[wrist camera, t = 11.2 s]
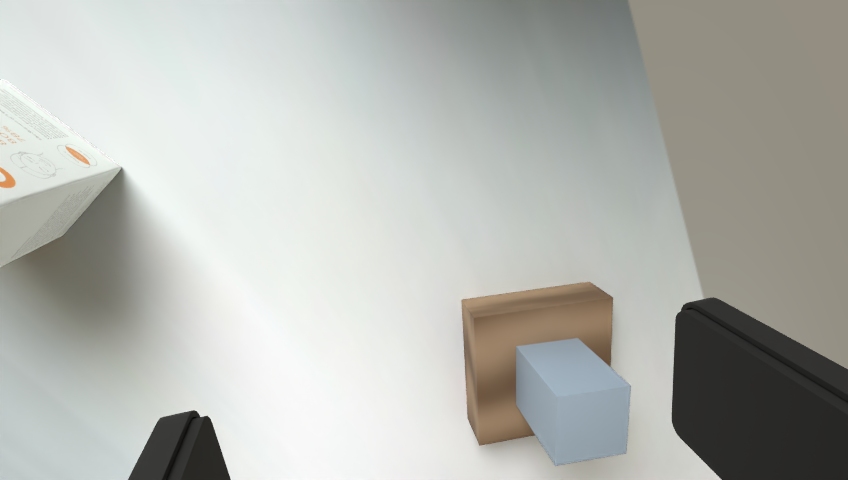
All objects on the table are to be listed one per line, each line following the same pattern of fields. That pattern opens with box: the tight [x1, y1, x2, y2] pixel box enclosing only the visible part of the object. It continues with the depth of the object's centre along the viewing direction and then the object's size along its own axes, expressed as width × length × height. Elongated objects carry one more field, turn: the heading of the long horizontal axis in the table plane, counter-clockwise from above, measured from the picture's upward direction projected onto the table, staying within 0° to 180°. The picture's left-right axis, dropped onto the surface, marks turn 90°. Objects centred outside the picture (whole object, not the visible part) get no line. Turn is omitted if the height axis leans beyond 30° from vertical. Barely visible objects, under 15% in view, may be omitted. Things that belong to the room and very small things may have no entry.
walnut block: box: [462, 282, 613, 445], centre depth 40 cm, size 11×11×4 cm
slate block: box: [516, 338, 631, 466], centre depth 35 cm, size 5×5×7 cm
